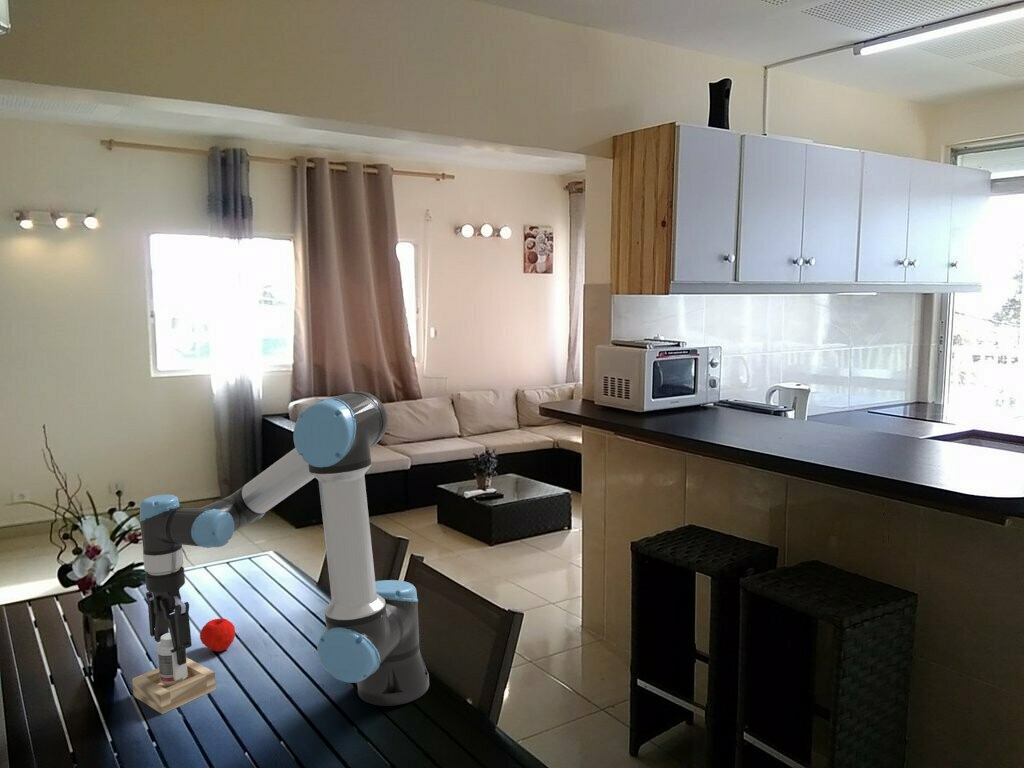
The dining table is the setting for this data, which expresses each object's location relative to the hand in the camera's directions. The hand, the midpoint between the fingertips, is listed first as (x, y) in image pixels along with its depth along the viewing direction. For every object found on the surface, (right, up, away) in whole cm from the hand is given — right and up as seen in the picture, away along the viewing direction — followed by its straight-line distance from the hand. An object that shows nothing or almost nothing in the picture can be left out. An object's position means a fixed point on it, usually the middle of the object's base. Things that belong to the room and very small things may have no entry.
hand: (173, 673), depth 167 cm
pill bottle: (0, -1, 0) cm, 2 cm away
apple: (+2, -2, +21) cm, 21 cm away
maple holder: (0, -4, +1) cm, 4 cm away
